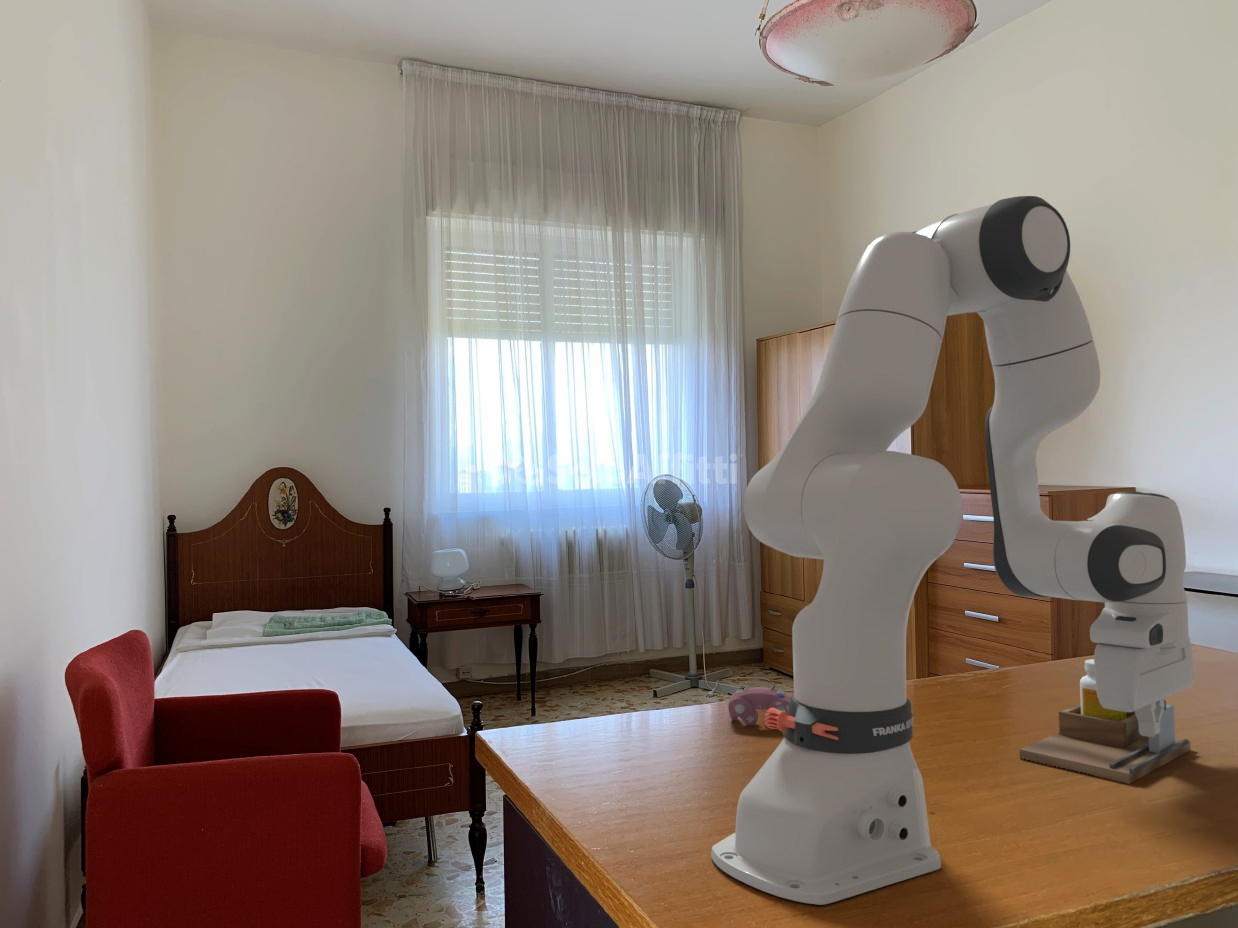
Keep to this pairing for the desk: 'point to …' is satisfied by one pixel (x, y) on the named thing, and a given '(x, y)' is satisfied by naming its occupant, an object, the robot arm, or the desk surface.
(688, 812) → the desk surface
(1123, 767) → the board
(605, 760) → the desk surface
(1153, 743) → the cover panel
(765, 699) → the video game controller
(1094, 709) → the supplement bottle
